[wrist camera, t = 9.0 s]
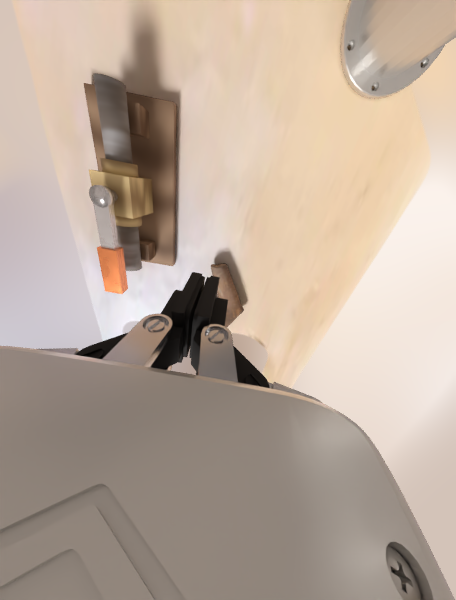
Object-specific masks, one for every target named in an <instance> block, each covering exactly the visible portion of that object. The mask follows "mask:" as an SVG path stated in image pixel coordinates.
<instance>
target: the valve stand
mask: <svg viewBox="0 0 456 600" xmlns="http://www.w3.org/2000/svg"><path fill="white" fill-rule="evenodd" d="M93 78H94V85H91V84H86V83H84V88H85V94H86V100H87V106H88V112H89V117H90V123H91V129H92V135H93V141H94V147H95V153H96V159H97V164H98V170H99V171H96V170H89V173H90V179H91V184H92V186H93V185H105V186H107V187H109V188H110V189H111V190H112V192H113V193H114V196H115V203H114V212H115V220H116V228H117V235H118V243H119V247H122V248H123V252H124V261H125V269H126V271H137V270H140V269H141V268H142V264H141V261H145V262H151V263H157V264H163V265H169V266H173V265H174V264H175V216H176V132H177V106H176V104H175V103H174V102H171V101H166V100H161V99H157V98H152V97H147V96H143V95H138V94H133V93H129V92H126V86H125V85H124V84H123V83H121V82H120V81H118V80H116V79H114V78H112V77H109V76H106V75H102V74H93Z"/></svg>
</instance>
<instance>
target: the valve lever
mask: <svg viewBox="0 0 456 600" xmlns="http://www.w3.org/2000/svg"><path fill="white" fill-rule="evenodd" d="M89 195H90V198H91V200H92V201H93V204H94V210H95V215H96V221H97V226H98V232H99V237H100V243H101V246H100V247H97V250H98V255H99V261H100V266H101V271H102V276H103V281H104V287H105V291H108V292H113V293H119V294H123V293H124V292H125V291H126V290H127V289H128V286H127V278H126V269H125V261H124V252H123V248H122V247H119V243H118V235H117V228H116V220H115V212H114V203H115V196H114V193H113V192H112V190H111V189H110V188H109V187H107V186H105V185H93V186H92V187H91V188H90V190H89Z"/></svg>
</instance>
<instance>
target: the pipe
mask: <svg viewBox="0 0 456 600" xmlns="http://www.w3.org/2000/svg"><path fill="white" fill-rule="evenodd" d="M211 270H212V274H213V276H216V277H220V279H219V285H218V291H217V294H218V297H219V298H222V299H228V305H227V312H226V320H225V327H226V328H227V327H228V326H229V325H230V324H231V323H232V322H233V321H234V320H235V319H236V318H237V317H238V316H239V315H240V314H241V313H242V312H243V311H244V309H243V307H242V306H241V304H240V300H239V297H238V294H237V291H236V289H235V286H234V284H233V281H232V278H231V275H230V272H229V270H228V267H227V264H218V265H215V264H213V265H211Z"/></svg>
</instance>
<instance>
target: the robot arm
mask: <svg viewBox="0 0 456 600" xmlns="http://www.w3.org/2000/svg"><path fill="white" fill-rule="evenodd" d="M455 37H456V0H350V2H349V5H348V8H347V12H346V15H345V18H344V24H343V29H342V35H341V63H342V67H343V71H344V75H345V77H346V79H347V81H348V83H349V85H350V86H351V87H352V89H353V90H354V91H355V92H357V93H358V94H359V95H361V96H363V97H366V98H370V99H379V98H384V97H388V96H390V95H392V94H395V93H397V92H399V91H400V90H402V89H404V88H405V87H407V86H409V85H410V84H411V83H412V82H414V81H415V80H416V79H417V78H419V77H420V76H421V75H422V74H423V73H424V72H425V71H426V70H427V69H428V68H429V66H430V65H431V64H432V63H433V61H434V60H435V59H436V58H437V56H438V55H439V54H440V52H441V51H442V49H443V47H444V46H445V44H447V43H448V42H449V41H451V40H452V39H454V38H455ZM347 47H349V50H348V48H347ZM372 88H373V91H372ZM219 279H220V277H216V276H211V277H210V278H209V277H207V279H206V282H205V285H204V280H205V277H203V276H202V274H200V273H195V272H193V273H192V274H191V276H190V278H189V280H188V282H187V284H186V285H185V287H184V289H183V291H179V290H175V291H174V293H173V294H172V296H171V298H170V299H169V301H168V303H167V304H166V306H165V308H164V309H163V311H162V312H161V314H152V315H148V316H146V317H144V318H143V319H142V320H141V321H140V322H139V323H138V324H137V325H136V326H135V327H134V328H133V329H132V330H131V331H130V332H129V333H126V334H123V335H120V336H117V337H114V338H111V339H108V340H105V341H103V342H100V343H97V344H94V345H91V346H88V347H86V348H84V349H82V350H81V351H78V349H77V348H71V349H69V348H68V349H30V348H21V347H10V346H0V600H455V599H454V597H453V595H452V593H451V591H450V588H449V587H448V584H447V582H446V580H445V578H444V576H443V574H442V572H441V570H440V568H439V566H438V564H437V562H436V560H435V557H434V555H433V553H432V551H431V549H430V547H429V545H428V543H427V541H426V539H425V537H424V535H423V533H422V531H421V529H420V527H419V525H418V524H417V521H416V519H415V517H414V515H413V513H412V512H411V509H410V508H409V506H408V504H407V502H406V500H405V498H404V496H403V494H402V492H401V490H400V488H399V486H398V485H397V483H396V481H395V479H394V477H393V475H392V473H391V472H390V470H389V468H388V466H387V465H386V463H385V461H384V460H383V458H382V456H381V454H380V453H379V451H378V450H377V448H376V447H375V445H374V444H373V442H372V441H371V440H370V438H369V437H368V436H367V434H366V433H365V432H364V431H363V430H362V429H361V428H360V427H359V426H358V425H357V424H356V423H354V422H353V421H352V420H350V419H349V418H348V417H346V416H345V415H343V414H342V413H340V412H338V411H336V410H335V409H333V408H331V407H329V406H327V405H325V404H323V403H322V402H320V401H319V400H318V399H316V398H314V397H311V396H309V395H306V394H304V393H301V392H299V391H296V390H293V389H291V388H288V387H286V386H283V385H281V384H278V383H276V382H274V383H273V384H272V383H269V382H268V381H267V379H266V378H265V377H264V376H263V375H262V374H261V373H260V372H259V371H258V370H257V369H256V368H255V367H254V366H253V365H252V364H251V363H250V362H249V361H248V360H247V359H246V358H245V357H244V356H243V355H242V354H241V353H240V352H239V351H238V350H237V349H236V348H235V347H234V346H233V340H232V334H231V332H230V330H229V329H228V328H226V327H225V320H226V312H227V305H228V299H222V298H217V291H218V285H219ZM190 346H191V347H190ZM189 349H190V358H191V365H192V366H193V367H194V369H195V370H196V375H192V374H186V373H180V372H174V371H171V368H172V365H173V364H175V363H177V362H182V359H183V357H187V355H188V352H189Z"/></svg>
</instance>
